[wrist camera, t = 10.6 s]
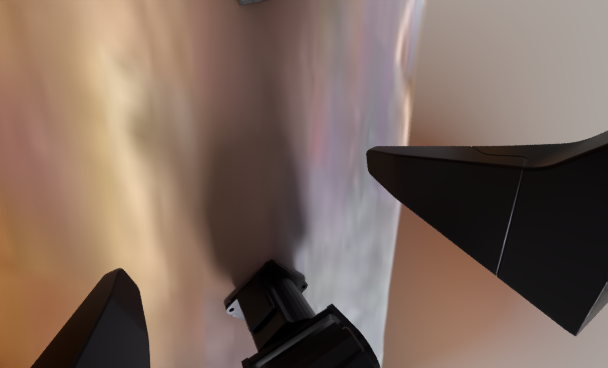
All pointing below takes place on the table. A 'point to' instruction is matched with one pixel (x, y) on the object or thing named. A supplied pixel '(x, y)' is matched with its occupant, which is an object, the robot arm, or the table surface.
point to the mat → (248, 1)
